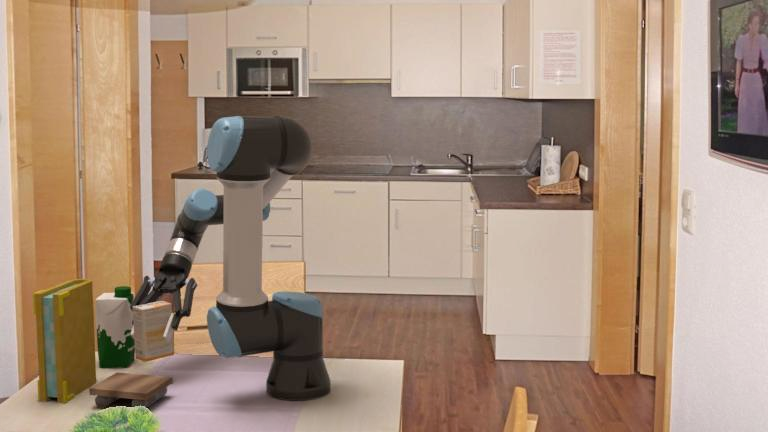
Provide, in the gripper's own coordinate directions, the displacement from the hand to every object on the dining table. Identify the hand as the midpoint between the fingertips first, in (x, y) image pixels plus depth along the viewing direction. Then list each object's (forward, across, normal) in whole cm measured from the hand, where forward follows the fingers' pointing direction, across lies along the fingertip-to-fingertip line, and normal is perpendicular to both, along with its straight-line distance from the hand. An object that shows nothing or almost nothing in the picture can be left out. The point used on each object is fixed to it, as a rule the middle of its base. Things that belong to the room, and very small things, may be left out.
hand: (149, 338), depth 222 cm
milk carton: (-1, +16, -16) cm, 23 cm away
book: (+15, +16, -1) cm, 21 cm away
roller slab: (+17, -2, +2) cm, 18 cm away
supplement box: (+3, 0, -5) cm, 6 cm away
